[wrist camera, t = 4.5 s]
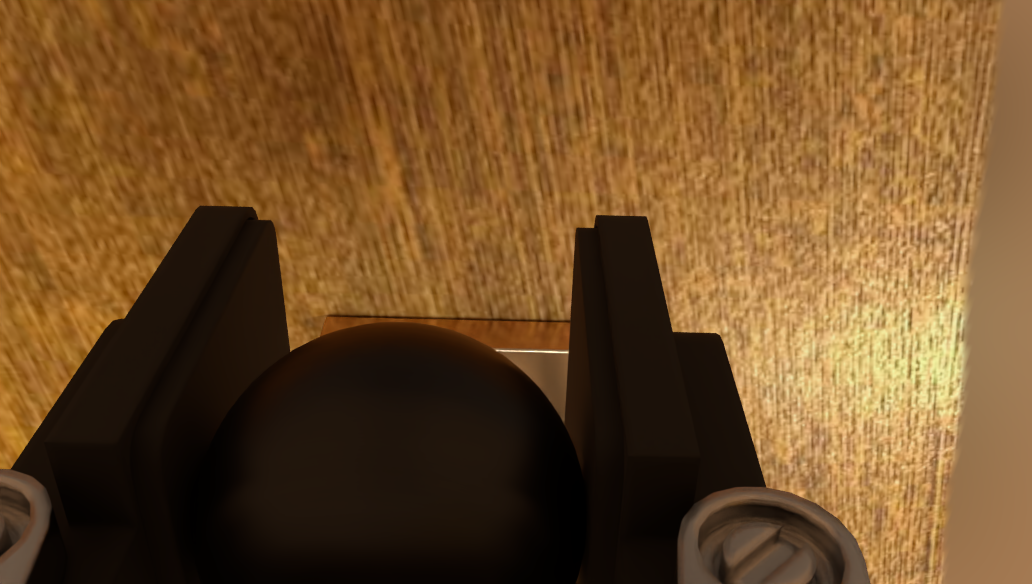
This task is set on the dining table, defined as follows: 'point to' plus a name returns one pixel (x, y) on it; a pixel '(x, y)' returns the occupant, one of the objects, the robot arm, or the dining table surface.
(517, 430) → the switch lever
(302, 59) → the dining table surface
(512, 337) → the switch bracket
